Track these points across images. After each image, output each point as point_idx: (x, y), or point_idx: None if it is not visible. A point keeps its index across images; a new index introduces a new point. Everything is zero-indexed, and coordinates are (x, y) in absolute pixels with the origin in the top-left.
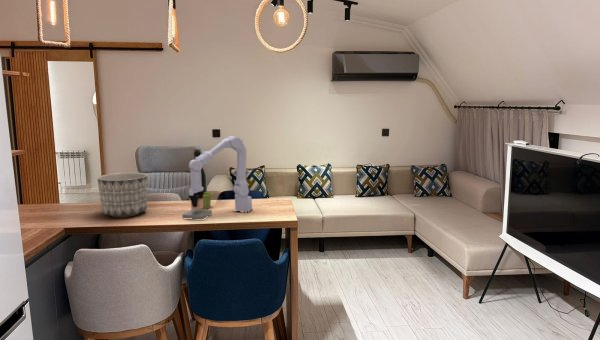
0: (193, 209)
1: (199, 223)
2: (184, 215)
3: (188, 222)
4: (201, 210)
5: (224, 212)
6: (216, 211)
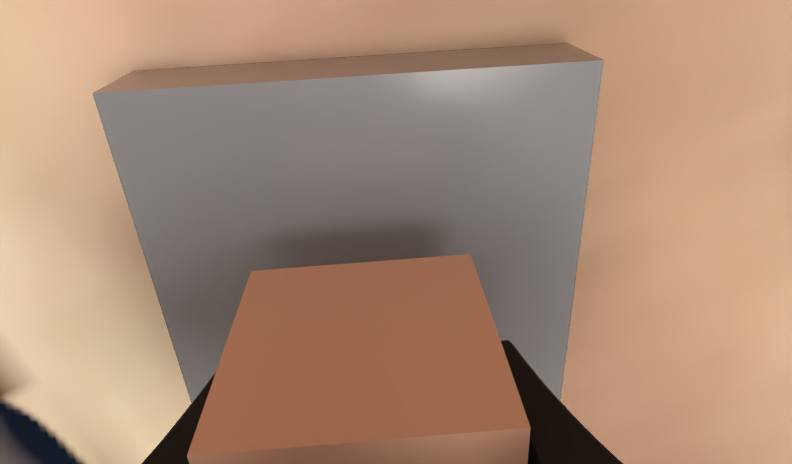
0: (584, 107)
1: (62, 416)
2: (113, 136)
3: (14, 270)
4: (522, 291)
5: (657, 454)
6: (715, 356)
